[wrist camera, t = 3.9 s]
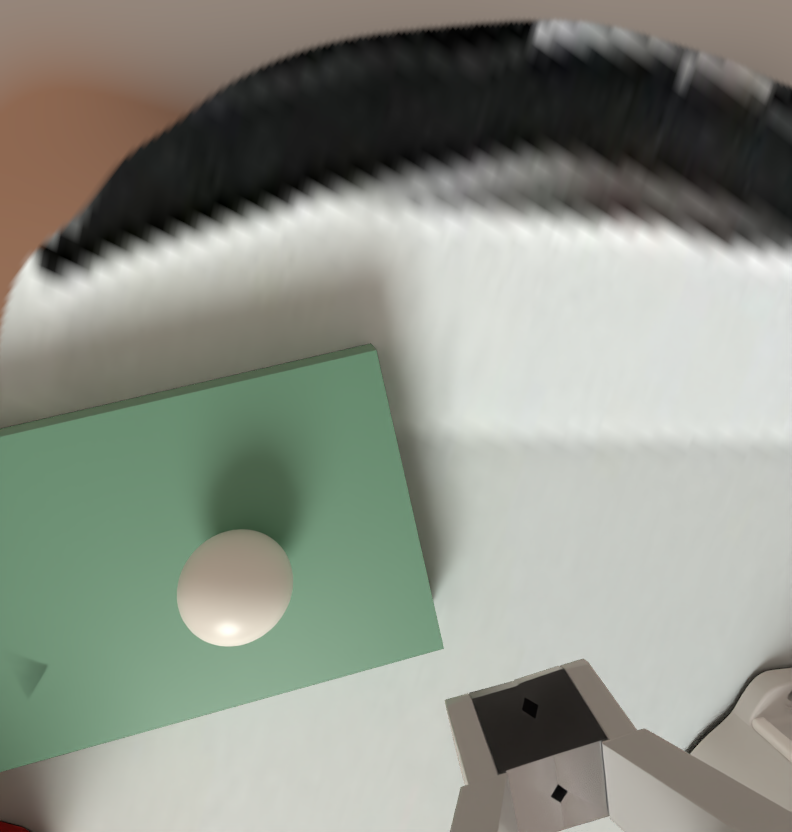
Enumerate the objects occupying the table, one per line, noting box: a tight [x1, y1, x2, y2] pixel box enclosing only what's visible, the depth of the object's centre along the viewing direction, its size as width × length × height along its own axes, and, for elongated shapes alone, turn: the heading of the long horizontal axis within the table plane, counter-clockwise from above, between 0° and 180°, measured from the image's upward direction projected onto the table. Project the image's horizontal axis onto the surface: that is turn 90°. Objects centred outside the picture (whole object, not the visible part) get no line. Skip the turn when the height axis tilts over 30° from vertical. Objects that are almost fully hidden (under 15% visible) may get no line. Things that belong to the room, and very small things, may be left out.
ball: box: [177, 529, 293, 646], centre depth 17 cm, size 4×4×4 cm
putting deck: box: [0, 344, 444, 772], centre depth 14 cm, size 26×16×15 cm, turn 102°
